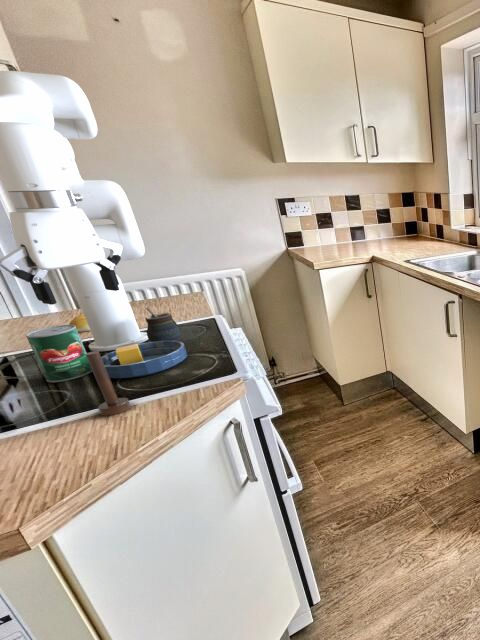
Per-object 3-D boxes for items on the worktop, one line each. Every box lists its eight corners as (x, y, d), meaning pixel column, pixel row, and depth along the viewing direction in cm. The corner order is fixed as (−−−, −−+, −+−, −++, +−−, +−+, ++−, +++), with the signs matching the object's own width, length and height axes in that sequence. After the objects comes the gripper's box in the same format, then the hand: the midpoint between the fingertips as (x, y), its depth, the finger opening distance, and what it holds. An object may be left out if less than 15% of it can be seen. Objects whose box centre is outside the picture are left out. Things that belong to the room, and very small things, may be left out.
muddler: (96, 413, 81) (70, 355, 76) (124, 402, 84) (101, 347, 80) (107, 417, 79) (82, 359, 74) (135, 407, 82) (112, 350, 78)
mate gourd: (166, 348, 112) (153, 313, 108) (142, 347, 113) (129, 312, 110) (190, 339, 119) (179, 305, 115) (167, 338, 120) (156, 304, 116)
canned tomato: (64, 383, 93) (43, 337, 89) (36, 381, 95) (14, 335, 91) (102, 368, 101) (84, 325, 97) (76, 367, 102) (57, 324, 98)
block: (121, 363, 102) (115, 348, 100) (142, 358, 104) (137, 343, 103) (122, 368, 99) (115, 352, 98) (143, 363, 101) (137, 348, 100)
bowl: (85, 375, 97) (79, 361, 96) (161, 350, 111) (156, 337, 110) (129, 385, 92) (124, 370, 91) (203, 357, 106) (199, 344, 105)
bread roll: (74, 334, 126) (69, 321, 124) (69, 328, 131) (64, 316, 129) (110, 326, 132) (106, 314, 130) (104, 321, 137) (100, 310, 135)
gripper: (91, 198, 82) (123, 284, 89) (-41, 205, 67) (9, 307, 74) (115, 199, 80) (146, 287, 86) (-16, 206, 65) (33, 311, 71)
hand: (83, 296), depth 80 cm, fingers open, 9 cm apart
